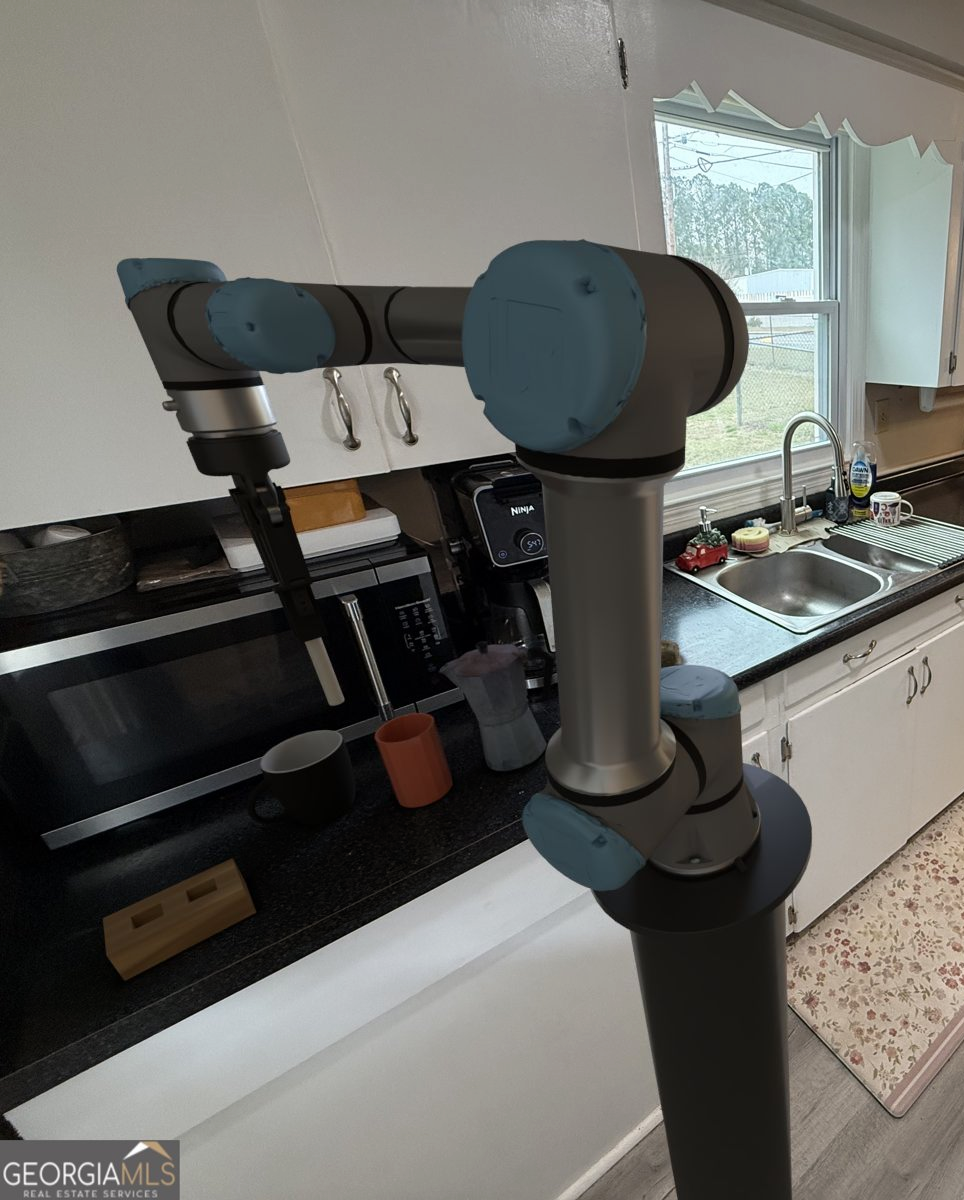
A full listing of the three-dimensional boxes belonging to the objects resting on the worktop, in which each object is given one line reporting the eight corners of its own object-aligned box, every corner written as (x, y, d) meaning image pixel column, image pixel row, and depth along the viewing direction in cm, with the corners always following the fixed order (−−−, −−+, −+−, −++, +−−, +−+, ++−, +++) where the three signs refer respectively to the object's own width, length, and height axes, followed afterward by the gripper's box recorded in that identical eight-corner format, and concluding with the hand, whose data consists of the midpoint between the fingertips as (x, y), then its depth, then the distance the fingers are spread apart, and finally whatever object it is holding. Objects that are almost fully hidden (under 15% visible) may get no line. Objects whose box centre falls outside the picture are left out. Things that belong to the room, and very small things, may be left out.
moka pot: (468, 745, 99) (437, 635, 90) (570, 725, 103) (549, 618, 95) (461, 784, 90) (425, 666, 82) (571, 760, 95) (548, 646, 87)
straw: (346, 701, 77) (295, 567, 69) (331, 707, 76) (278, 571, 68) (342, 697, 78) (292, 564, 70) (327, 702, 77) (274, 568, 69)
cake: (624, 664, 123) (620, 639, 121) (670, 649, 128) (667, 626, 126) (644, 681, 115) (640, 655, 113) (692, 665, 120) (689, 640, 119)
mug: (342, 779, 91) (319, 722, 87) (378, 798, 88) (357, 740, 84) (247, 834, 82) (216, 773, 78) (283, 858, 78) (253, 796, 74)
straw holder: (256, 912, 71) (243, 887, 69) (124, 981, 64) (106, 955, 62) (245, 882, 75) (232, 857, 73) (119, 943, 68) (102, 918, 66)
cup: (460, 788, 90) (441, 726, 85) (407, 815, 85) (384, 750, 80) (441, 767, 94) (422, 707, 89) (390, 791, 89) (367, 729, 84)
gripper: (173, 429, 65) (257, 628, 75) (196, 444, 56) (288, 668, 66) (262, 420, 70) (330, 608, 80) (296, 433, 61) (368, 642, 71)
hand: (311, 634), depth 73 cm, fingers closed on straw, 1 cm apart
